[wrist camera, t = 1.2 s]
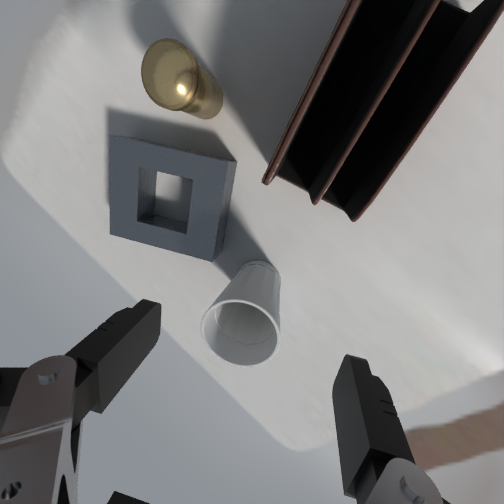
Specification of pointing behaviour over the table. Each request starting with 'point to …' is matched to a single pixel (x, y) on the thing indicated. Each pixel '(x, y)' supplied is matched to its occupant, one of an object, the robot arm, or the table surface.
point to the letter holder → (375, 95)
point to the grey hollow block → (144, 187)
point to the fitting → (180, 80)
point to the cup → (245, 317)
